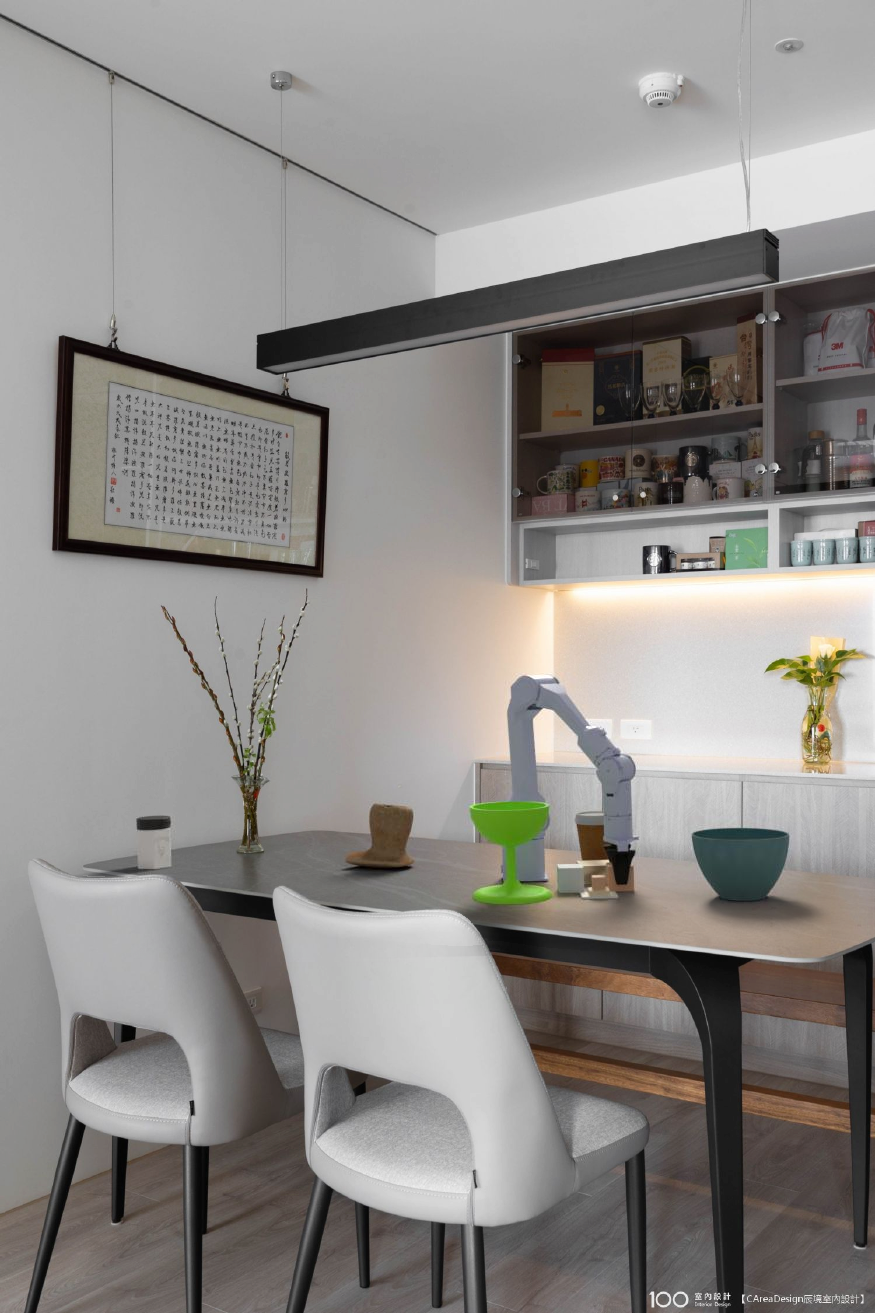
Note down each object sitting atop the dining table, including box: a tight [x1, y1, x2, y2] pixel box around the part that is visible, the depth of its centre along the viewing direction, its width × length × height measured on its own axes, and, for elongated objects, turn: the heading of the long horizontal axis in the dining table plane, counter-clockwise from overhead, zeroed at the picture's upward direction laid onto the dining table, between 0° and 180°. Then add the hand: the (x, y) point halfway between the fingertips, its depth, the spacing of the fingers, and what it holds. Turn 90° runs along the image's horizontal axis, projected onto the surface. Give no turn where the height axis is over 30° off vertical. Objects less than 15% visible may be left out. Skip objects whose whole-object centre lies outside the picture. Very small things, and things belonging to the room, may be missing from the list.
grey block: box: [556, 863, 585, 894], centre depth 232 cm, size 5×5×5 cm
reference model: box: [579, 875, 619, 900], centre depth 225 cm, size 7×5×4 cm
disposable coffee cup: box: [573, 810, 611, 861], centre depth 260 cm, size 10×10×12 cm
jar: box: [135, 815, 172, 870], centre depth 279 cm, size 9×8×12 cm
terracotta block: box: [606, 862, 635, 893], centre depth 232 cm, size 5×5×5 cm
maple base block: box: [575, 860, 609, 885], centre depth 242 cm, size 7×7×4 cm
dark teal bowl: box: [691, 827, 790, 902], centre depth 220 cm, size 18×18×12 cm
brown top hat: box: [344, 802, 415, 869], centre depth 269 cm, size 15×12×15 cm
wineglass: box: [469, 801, 553, 905], centre depth 228 cm, size 16×16×18 cm
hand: (620, 882), depth 232 cm, fingers closed on terracotta block, 5 cm apart
